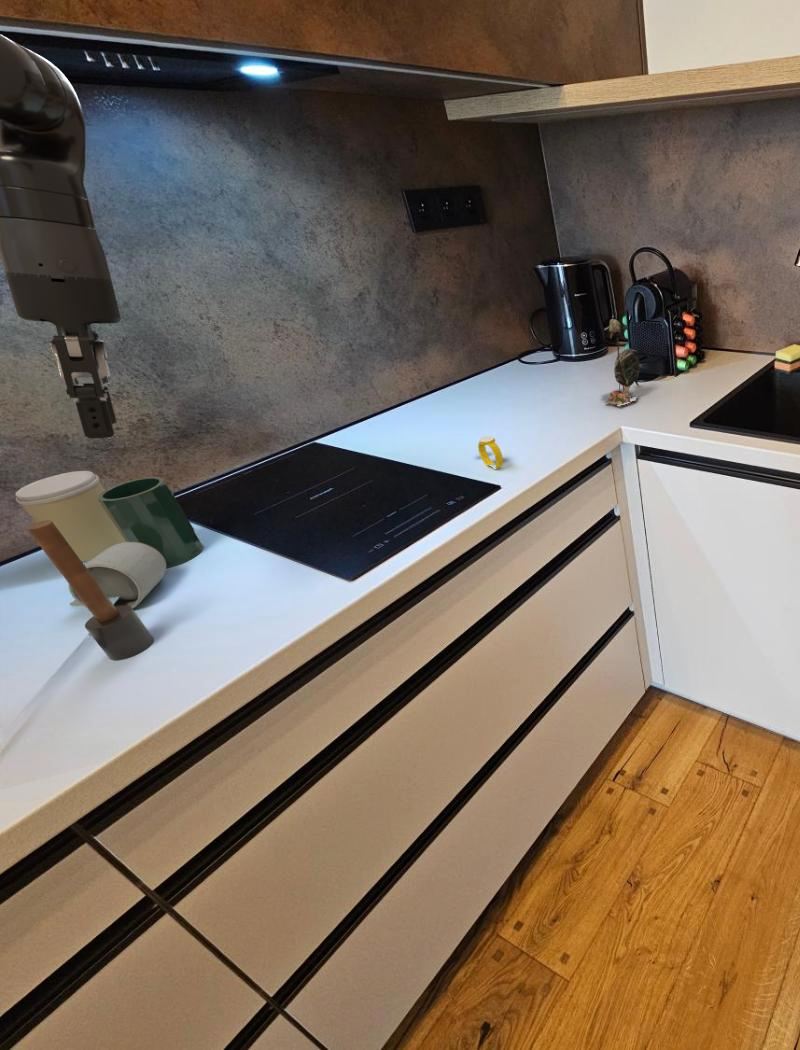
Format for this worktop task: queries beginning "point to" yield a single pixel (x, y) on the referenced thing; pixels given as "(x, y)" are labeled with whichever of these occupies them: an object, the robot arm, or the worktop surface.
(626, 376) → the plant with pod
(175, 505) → the green patterned cylindrical cup
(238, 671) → the worktop surface
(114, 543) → the coffee cup
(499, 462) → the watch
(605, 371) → the worktop surface
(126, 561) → the ceramic mug
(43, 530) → the mallet
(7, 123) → the robot arm
